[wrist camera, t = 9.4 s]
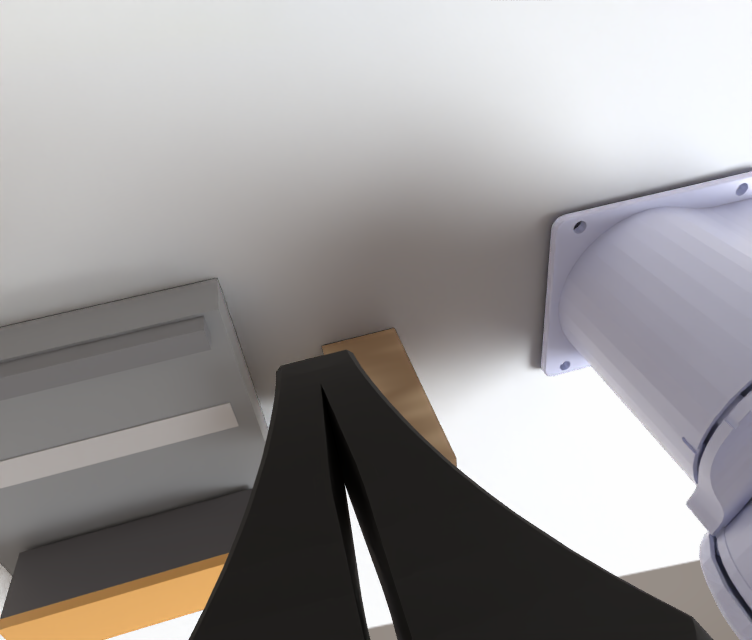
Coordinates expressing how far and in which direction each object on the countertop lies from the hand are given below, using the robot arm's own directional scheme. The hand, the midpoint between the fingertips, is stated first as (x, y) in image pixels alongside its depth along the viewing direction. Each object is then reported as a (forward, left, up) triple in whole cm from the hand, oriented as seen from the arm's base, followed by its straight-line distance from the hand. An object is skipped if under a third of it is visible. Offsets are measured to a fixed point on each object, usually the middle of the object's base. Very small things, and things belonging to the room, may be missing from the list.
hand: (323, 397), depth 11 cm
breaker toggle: (+8, +12, -8) cm, 16 cm away
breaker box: (+8, +10, -10) cm, 16 cm away
